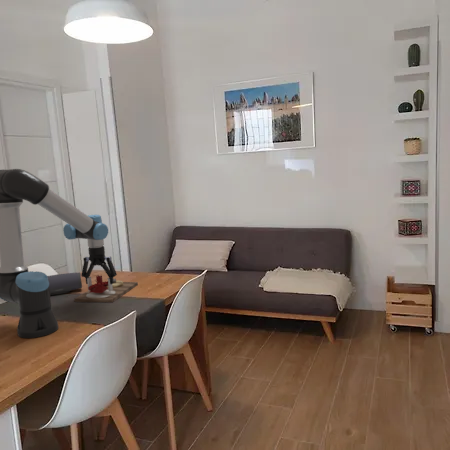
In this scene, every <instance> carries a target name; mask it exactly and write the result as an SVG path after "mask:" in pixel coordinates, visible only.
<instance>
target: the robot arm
mask: <svg viewBox="0 0 450 450" xmlns="http://www.w3.org/2000/svg"><path fill="white" fill-rule="evenodd" d="M24 201H27V202H29V203H31V204H32V205H35V206H36V205H39V206H40V207H42V208H43V209H44V210H46V211H48V212H49V213H51V214H53V215H54V216H55V217H57V218H58V219H60V220H62V221H63V222H65V225H64V226H63V235H64V237H65V238H66V240H76V239H84V240H87V247H88V249H87V250H88V254H89V255H88V256H84V257H83V266H82V269H81V278H85V284H86V285H87V289H88V287H89V286H92V285H93V283H92V282H93V281H92V276H91V275H92V272H93V269H94V268H95V266H100V267H102V270H103V271H104V272H105V274H106V275H107V276H108V278H107V281H108V287H109V291H112V290H113V286H112V284H113V283H114V281H113V279H114V277H116V276H117V275H118V273H117V271H116V268H115V266H114V264H113V262H112V261H113V260H112V256H106V255H105V254H106V251H105V250H106V249H105V242H104V239H106V238H107V237H108V235H109V228H108V225H107V224H105V223H103V220H102V216H101V215H100V214H89V215H87V214H86V213H84V212H83V211H81V210H80V209H79V208H77V207H76V206H74V205H73V204H71V203H70V202H68V200H66V199H64V198H63V197H62V196H60V195H59V194H58V193H55V192H54V190H51V189H50V185H49V184H48V183H46V182H44V181H43V180H42V179H40V178H39V177H37V176H36V175H34V174H33V173H31V172H29V171H27V170H24V169H21V168H11V169H0V299H1V300H3V301H5V302H10V303H15V304H18V308H19V320H18V323H17V324H18V325H17V329H16V331H17V336H18V338H23V339H34V338H40V337H45V336H47V335H50V334H52V333H55V332H56V331H57V330H58V329H59V322H58V320H57V318H56V316H55V314H54V311H53V309H52V302H51V301H52V300H51V299H52V298H51V295H50V290H49V281H48V277H47V276H48V275H47V274H46V273H45V272H42V271H34V270H33V271H29V267H28V266H27V265H25V262H24V251H23V238H22V236H23V235H22V225H21V214H20V208H21V205H22V204H23V203H24ZM89 262H90V264H89ZM88 266H89V267H88ZM87 291H91V290H89V289H88V290H87Z"/></svg>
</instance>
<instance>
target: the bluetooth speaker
mask: <svg viewBox="0 0 450 450" xmlns="http://www.w3.org/2000/svg"><path fill="white" fill-rule="evenodd" d="M81 275H82V273H81V272H67V273H58V274H52V275H47V277H48V281H49V290H50V296H54V295H61V294H67V293H71V291H74V290H75V291H76V290H78V289H82V288H83V283H82V276H81Z"/></svg>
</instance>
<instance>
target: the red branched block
mask: <svg viewBox="0 0 450 450" xmlns="http://www.w3.org/2000/svg"><path fill="white" fill-rule="evenodd" d="M95 278H96V279H95V280H94V281H96V283H94V284H92V286H89V287H88V286H87V289H89V290H91V291H90V292H89V293H103V292H104V291H106V290H107V289H108V288H107V286H108V280H107V281H103V275H99V274H97V275H96V276H95ZM92 289H93V290H92Z"/></svg>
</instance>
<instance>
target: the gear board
mask: <svg viewBox="0 0 450 450" xmlns="http://www.w3.org/2000/svg"><path fill="white" fill-rule="evenodd" d="M113 281H114V283H113V284H112V286H113V290H112V291H109V287H108V286H107V288H108V289H107V290H106V291H104V292H103V293H89V292H90V291H88V290H87V291H85V292H83V293H82V294H80V295H78V296H77V297H75V298H74V299H73V301H74V302H75V303H76V302H77V303H114V302H116V301H117V300H118V299H119V298H121V297H122V296H124V295H125V294H127V293H128V292H130V291H132V289H134V288H135V287H137V286H138V285H139V284H138V281H122V280H117V279H116V278H113ZM92 290H93V289H92Z"/></svg>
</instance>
